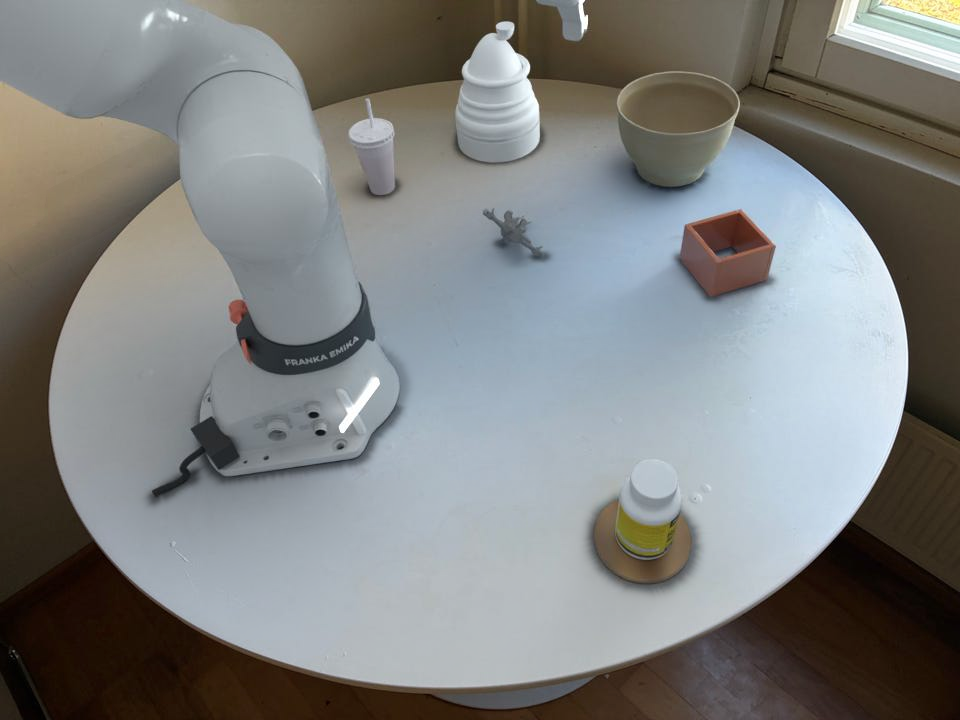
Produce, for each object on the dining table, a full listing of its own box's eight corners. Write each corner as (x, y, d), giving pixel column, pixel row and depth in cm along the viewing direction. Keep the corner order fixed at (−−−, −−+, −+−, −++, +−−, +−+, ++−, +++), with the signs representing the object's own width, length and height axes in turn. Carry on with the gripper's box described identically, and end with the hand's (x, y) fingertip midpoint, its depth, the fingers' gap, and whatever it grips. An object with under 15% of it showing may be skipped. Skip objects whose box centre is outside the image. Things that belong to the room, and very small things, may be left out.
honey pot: (546, 119, 123) (544, 6, 109) (531, 165, 115) (528, 49, 101) (468, 114, 125) (458, 3, 112) (448, 159, 117) (434, 45, 104)
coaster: (618, 597, 69) (618, 594, 68) (579, 514, 75) (579, 511, 74) (708, 565, 70) (709, 562, 70) (662, 486, 76) (663, 483, 76)
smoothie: (412, 181, 114) (397, 95, 104) (386, 205, 111) (368, 118, 100) (378, 170, 117) (361, 85, 106) (352, 193, 113) (331, 107, 103)
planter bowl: (645, 127, 119) (651, 61, 111) (744, 156, 112) (759, 87, 104) (592, 181, 111) (594, 113, 103) (696, 216, 104) (707, 146, 96)
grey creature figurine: (554, 223, 105) (559, 245, 97) (526, 256, 107) (529, 280, 99) (497, 179, 102) (497, 197, 94) (470, 213, 105) (468, 234, 97)
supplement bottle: (672, 566, 70) (685, 510, 63) (612, 557, 71) (618, 501, 64) (674, 514, 73) (687, 455, 66) (617, 506, 74) (623, 448, 67)
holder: (710, 297, 93) (716, 263, 89) (679, 258, 98) (684, 224, 94) (766, 280, 94) (776, 245, 90) (733, 242, 99) (741, 208, 95)
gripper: (608, -198, 68) (602, -34, 78) (509, -121, 56) (517, 59, 66) (678, -195, 66) (662, -27, 76) (590, -115, 54) (585, 70, 64)
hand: (594, 14), depth 71 cm, fingers open, 8 cm apart
